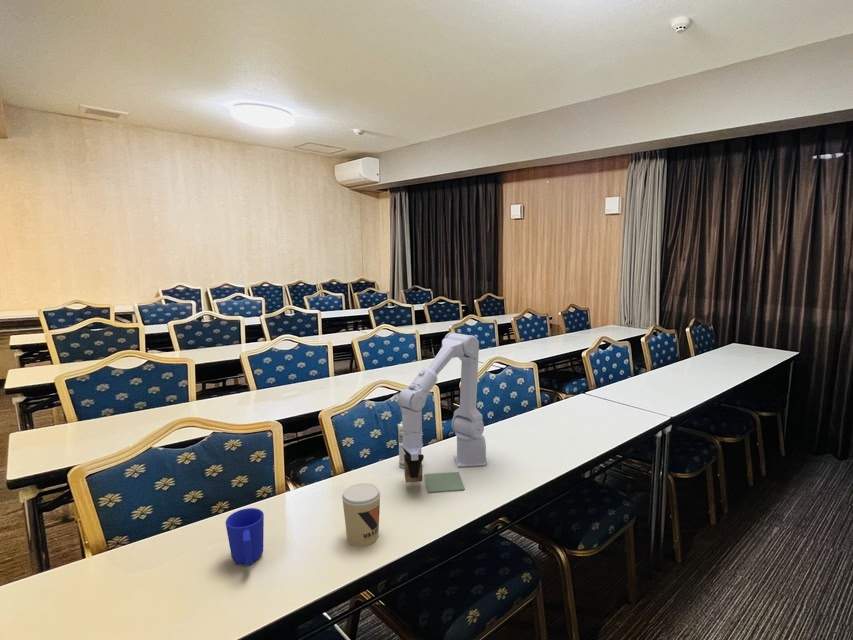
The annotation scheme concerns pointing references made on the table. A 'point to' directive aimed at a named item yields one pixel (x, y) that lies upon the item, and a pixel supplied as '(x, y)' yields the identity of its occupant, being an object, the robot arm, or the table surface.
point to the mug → (246, 535)
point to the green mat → (444, 482)
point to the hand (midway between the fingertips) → (413, 472)
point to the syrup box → (401, 450)
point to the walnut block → (407, 474)
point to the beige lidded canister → (361, 513)
